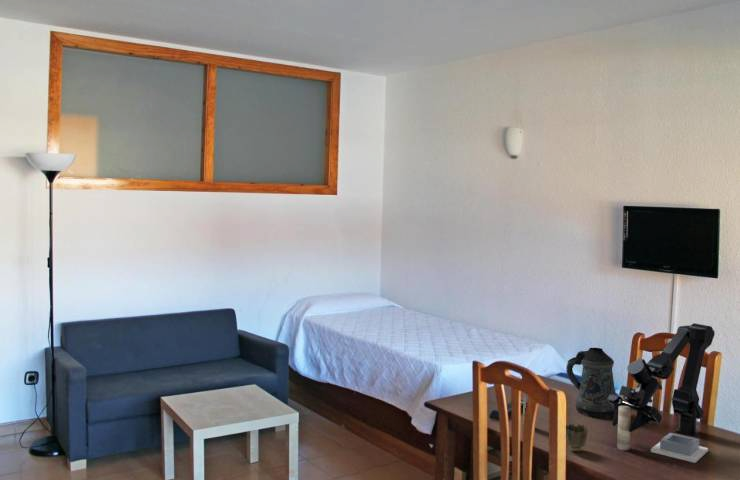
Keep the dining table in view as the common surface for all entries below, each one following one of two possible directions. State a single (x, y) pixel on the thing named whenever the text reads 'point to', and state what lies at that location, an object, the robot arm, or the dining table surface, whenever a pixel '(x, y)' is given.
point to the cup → (576, 436)
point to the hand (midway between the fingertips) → (621, 428)
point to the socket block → (680, 447)
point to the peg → (624, 427)
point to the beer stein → (593, 383)
